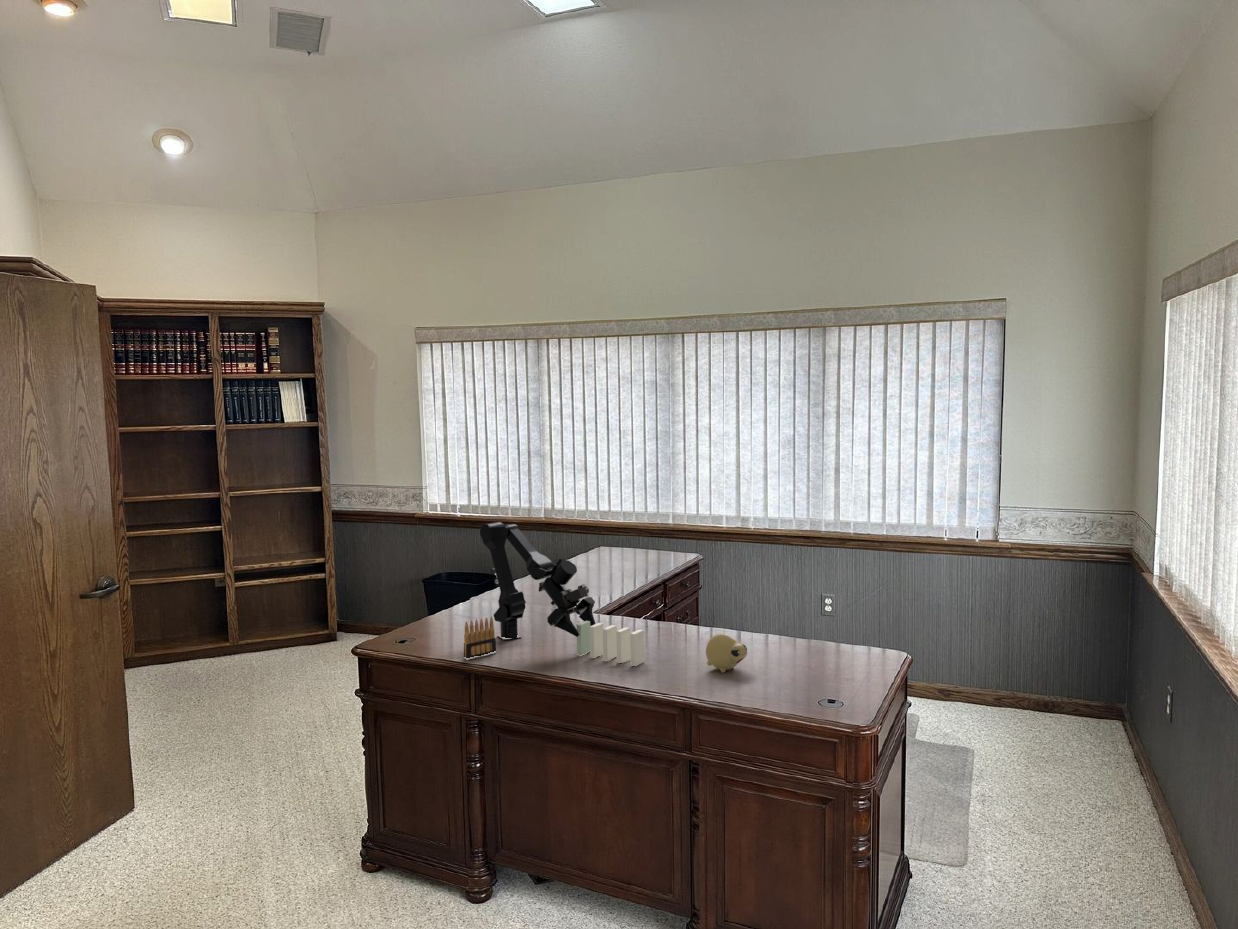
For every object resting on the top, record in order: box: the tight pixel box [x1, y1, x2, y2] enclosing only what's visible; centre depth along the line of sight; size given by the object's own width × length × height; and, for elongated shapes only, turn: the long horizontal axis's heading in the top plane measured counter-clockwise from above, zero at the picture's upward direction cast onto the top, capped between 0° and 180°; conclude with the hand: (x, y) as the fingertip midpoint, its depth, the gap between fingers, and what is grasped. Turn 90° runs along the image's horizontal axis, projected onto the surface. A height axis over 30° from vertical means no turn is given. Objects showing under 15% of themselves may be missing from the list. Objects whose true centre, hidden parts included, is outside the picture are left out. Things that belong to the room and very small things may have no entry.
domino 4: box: [616, 626, 631, 663], centre depth 262 cm, size 2×5×10 cm, turn 146°
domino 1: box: [576, 621, 590, 655], centre depth 271 cm, size 2×5×10 cm, turn 146°
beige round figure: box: [705, 633, 748, 674], centre depth 252 cm, size 10×12×11 cm
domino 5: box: [630, 629, 645, 667], centre depth 260 cm, size 2×5×10 cm, turn 146°
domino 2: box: [589, 622, 604, 658], centre depth 268 cm, size 2×5×10 cm, turn 146°
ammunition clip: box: [463, 615, 497, 658], centre depth 271 cm, size 11×2×12 cm, turn 128°
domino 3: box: [602, 624, 617, 661], centre depth 265 cm, size 2×5×10 cm, turn 146°
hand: (587, 632), depth 270 cm, fingers open, 9 cm apart
